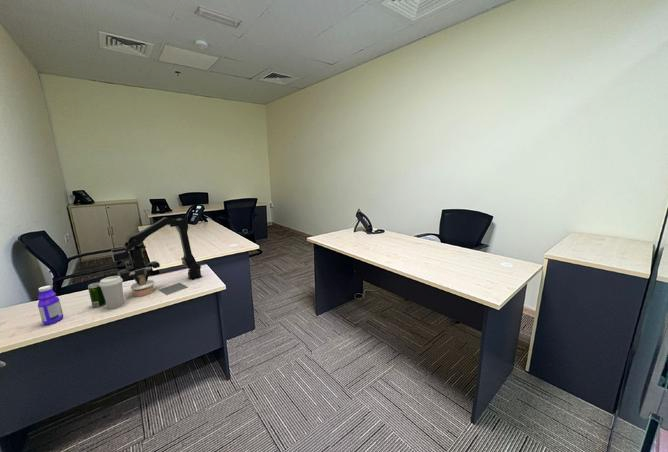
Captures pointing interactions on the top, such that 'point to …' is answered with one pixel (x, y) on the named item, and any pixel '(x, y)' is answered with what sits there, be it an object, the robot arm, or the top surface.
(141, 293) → the bowl
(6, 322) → the top surface
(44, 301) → the bottle
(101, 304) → the beer can
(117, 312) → the top surface
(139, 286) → the lid
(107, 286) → the coffee cup
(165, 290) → the mat
